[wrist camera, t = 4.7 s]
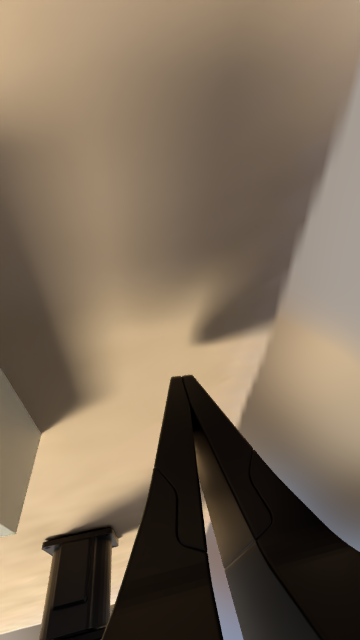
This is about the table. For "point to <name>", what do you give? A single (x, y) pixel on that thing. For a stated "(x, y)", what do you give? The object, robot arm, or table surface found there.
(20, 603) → the table surface
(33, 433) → the t block
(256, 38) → the table surface
